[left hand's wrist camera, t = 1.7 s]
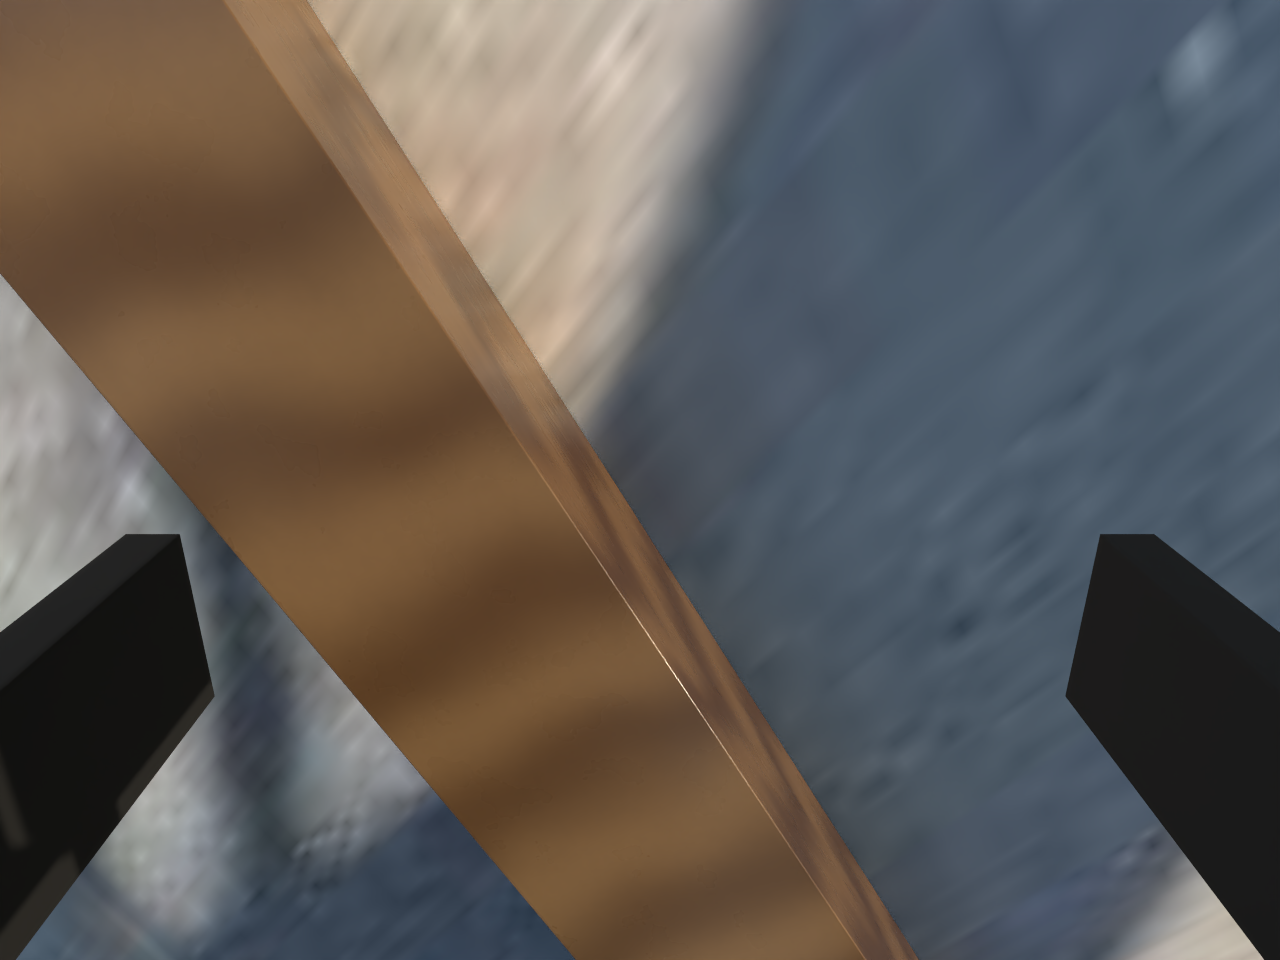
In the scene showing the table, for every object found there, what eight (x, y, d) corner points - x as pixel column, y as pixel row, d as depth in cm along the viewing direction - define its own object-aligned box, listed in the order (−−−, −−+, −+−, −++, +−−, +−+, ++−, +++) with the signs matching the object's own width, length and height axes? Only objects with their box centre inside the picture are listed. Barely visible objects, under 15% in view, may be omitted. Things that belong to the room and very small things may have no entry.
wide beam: (-158, -151, 26) (-437, -246, 19) (77, -359, 24) (-141, -544, 17) (950, 1291, 52) (993, 1459, 46) (1102, 1246, 50) (1169, 1413, 44)
